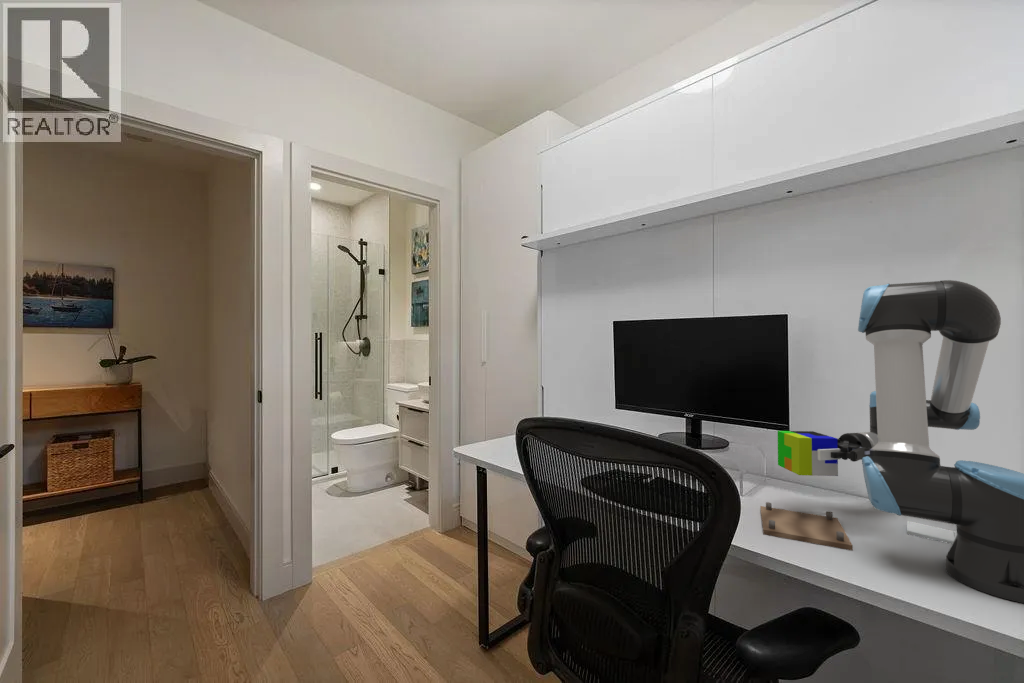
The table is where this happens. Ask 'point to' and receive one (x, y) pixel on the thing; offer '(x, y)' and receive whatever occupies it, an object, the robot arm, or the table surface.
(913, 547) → the table surface
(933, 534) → the external hard drive
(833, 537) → the base plate
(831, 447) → the puzzle toy
